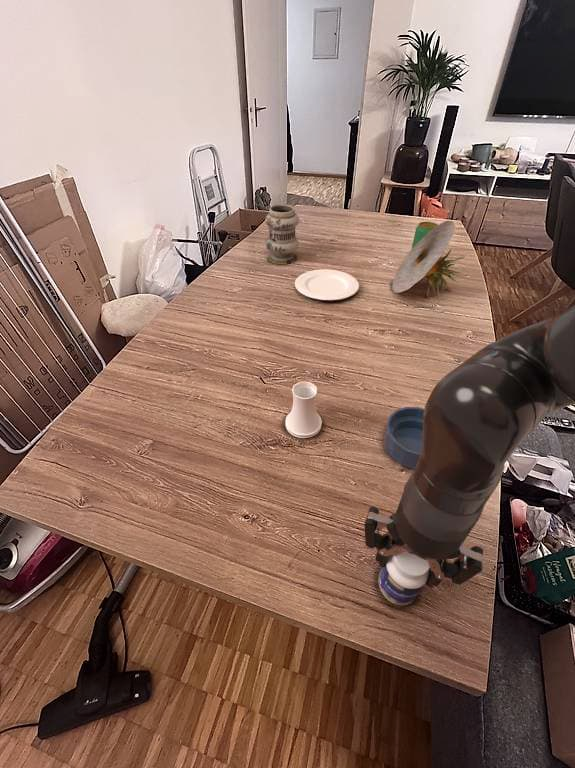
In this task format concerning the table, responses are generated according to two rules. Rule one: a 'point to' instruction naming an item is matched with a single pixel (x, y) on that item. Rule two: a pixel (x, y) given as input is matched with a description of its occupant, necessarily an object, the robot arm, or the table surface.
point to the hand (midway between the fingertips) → (405, 570)
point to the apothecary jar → (282, 233)
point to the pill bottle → (403, 577)
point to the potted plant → (427, 261)
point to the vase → (303, 411)
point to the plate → (326, 285)
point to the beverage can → (422, 231)
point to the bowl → (405, 436)
